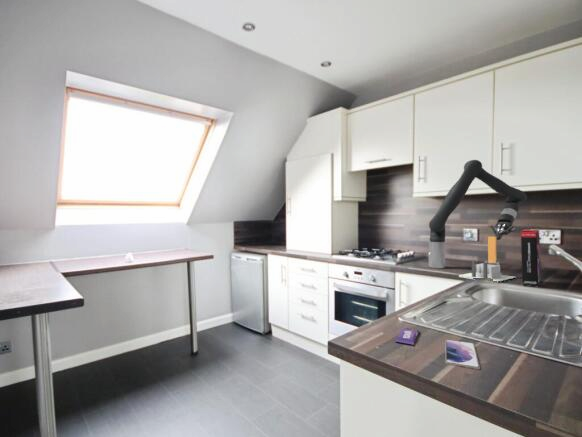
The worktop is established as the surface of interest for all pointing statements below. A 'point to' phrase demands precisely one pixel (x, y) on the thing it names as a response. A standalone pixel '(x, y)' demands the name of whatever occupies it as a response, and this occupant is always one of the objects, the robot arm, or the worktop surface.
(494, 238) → the retention strap
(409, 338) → the snack package
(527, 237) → the graphics card box
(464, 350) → the smartphone
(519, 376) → the worktop surface
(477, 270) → the heatsink board
